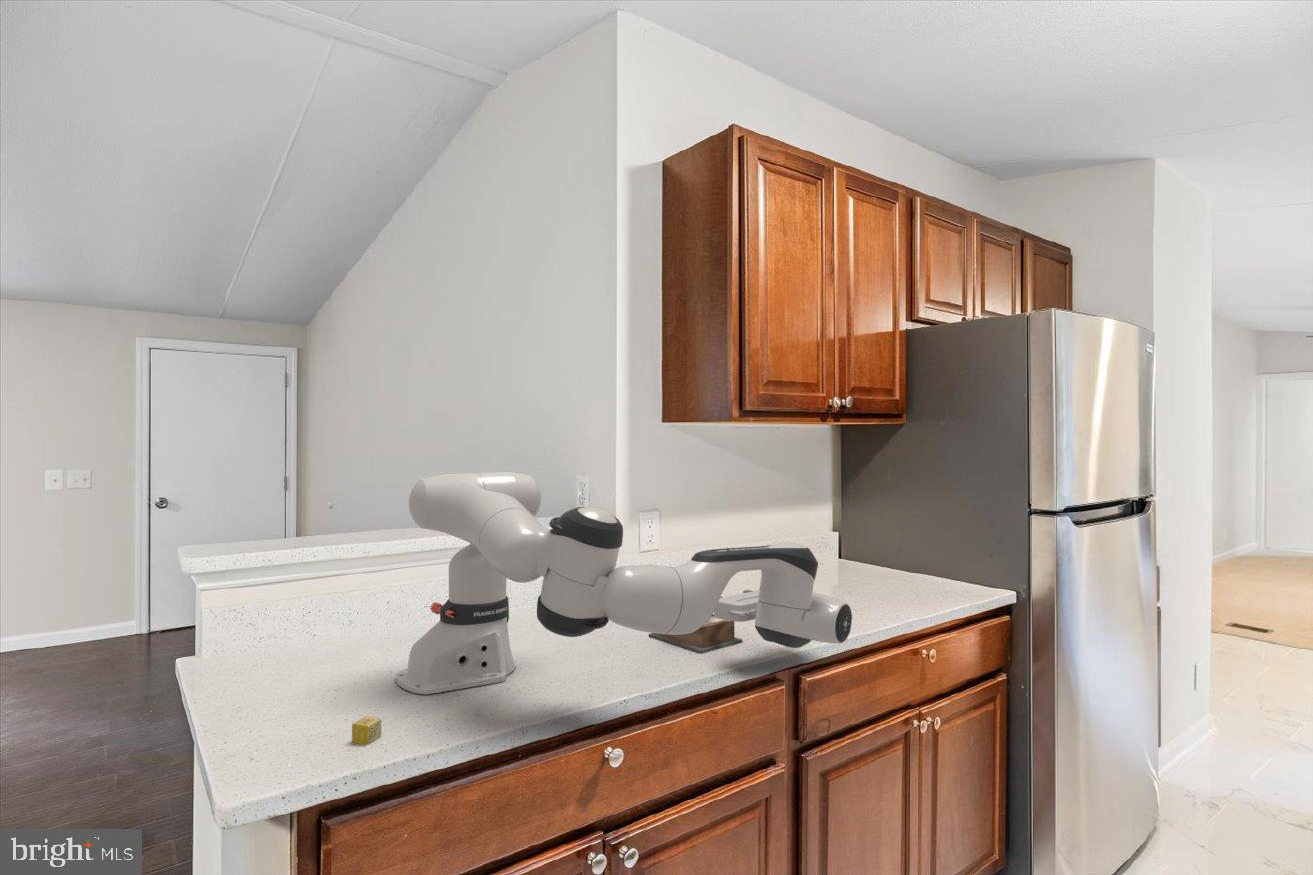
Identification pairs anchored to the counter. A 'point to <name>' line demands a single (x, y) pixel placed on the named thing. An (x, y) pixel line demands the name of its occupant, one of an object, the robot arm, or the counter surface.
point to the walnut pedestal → (704, 636)
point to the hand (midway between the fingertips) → (729, 596)
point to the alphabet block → (366, 730)
